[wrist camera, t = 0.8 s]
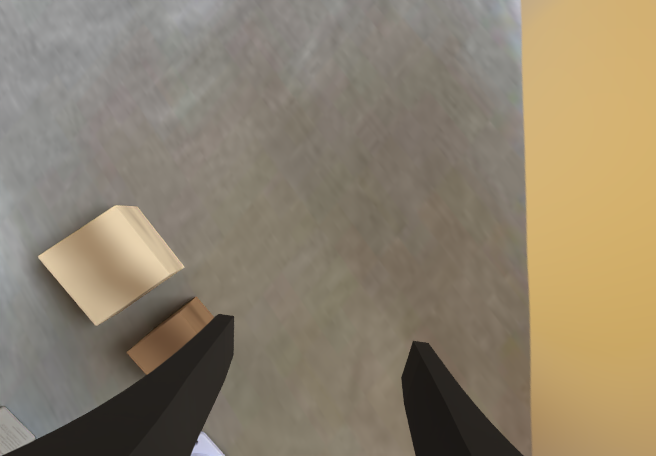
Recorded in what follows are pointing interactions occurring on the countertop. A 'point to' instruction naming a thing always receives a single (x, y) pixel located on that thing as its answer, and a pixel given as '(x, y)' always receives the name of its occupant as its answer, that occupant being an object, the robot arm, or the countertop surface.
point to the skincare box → (12, 432)
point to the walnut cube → (170, 335)
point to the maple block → (111, 262)
